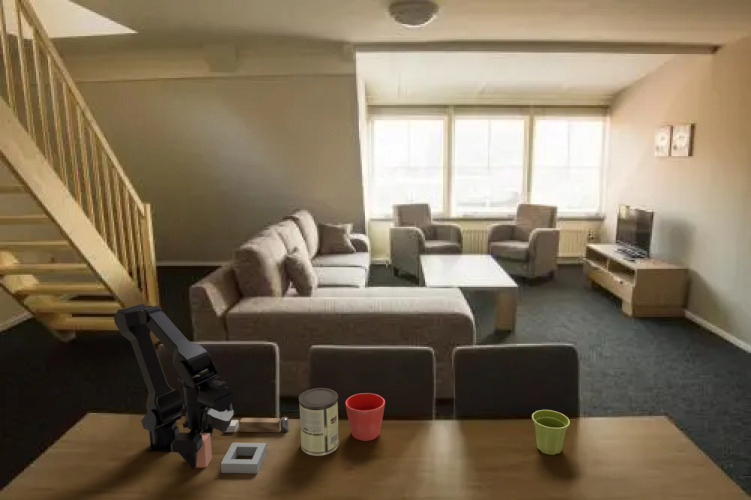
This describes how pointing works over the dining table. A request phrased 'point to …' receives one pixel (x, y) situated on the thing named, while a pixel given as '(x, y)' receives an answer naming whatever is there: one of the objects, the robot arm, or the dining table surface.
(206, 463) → the leg peg
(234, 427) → the stop block
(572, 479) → the dining table surface
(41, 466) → the dining table surface
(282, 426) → the pivot pin
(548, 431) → the plant pot
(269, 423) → the leg bar
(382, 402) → the flower pot
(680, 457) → the dining table surface
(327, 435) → the coffee can
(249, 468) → the socket
